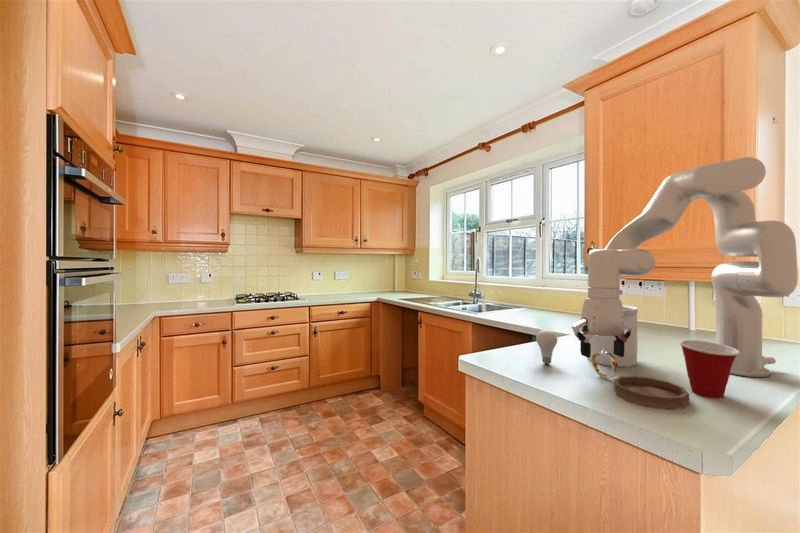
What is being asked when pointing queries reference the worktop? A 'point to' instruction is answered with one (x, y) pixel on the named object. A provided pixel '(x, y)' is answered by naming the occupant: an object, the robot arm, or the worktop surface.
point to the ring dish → (651, 392)
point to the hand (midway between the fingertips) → (602, 355)
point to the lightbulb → (546, 344)
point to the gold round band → (611, 358)
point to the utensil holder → (608, 341)
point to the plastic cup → (708, 366)
